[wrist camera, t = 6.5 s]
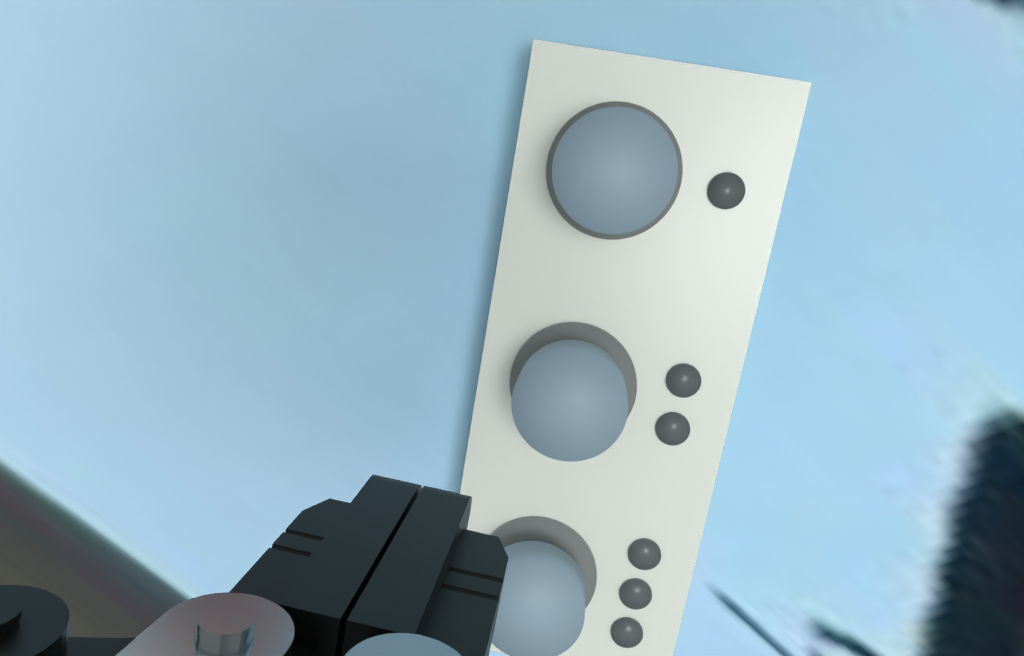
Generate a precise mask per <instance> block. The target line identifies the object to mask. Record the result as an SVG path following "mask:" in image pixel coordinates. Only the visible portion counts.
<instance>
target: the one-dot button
mask: <svg viewBox="0 0 1024 656" xmlns="http://www.w3.org/2000/svg"><path fill="white" fill-rule="evenodd" d="M677 176H678V161H677V155H676V151H675V148H674V145H673V143H672V141H671V139H670V137H669V135H668V134H667V132H666V131H665V130H664V128H663V127H662V126H661V125H660V124H659V123H658V122H657V121H656V120H654V119H653V118H651V117H650V116H648V115H647V114H645V113H643V112H641V111H638V110H635V109H632V108H627V107H607V108H601V109H598V110H595V111H592V112H590V113H588V114H586V115H584V116H583V117H581V118H580V119H578V120H577V121H576V122H575V123H573V124H572V125H571V126H570V128H569V129H568V130H567V131H566V132H565V134H564V135H563V136H562V138H561V140H560V142H559V143H558V145H557V148H556V151H555V154H554V158H553V163H552V181H553V187H554V190H555V194H556V196H557V198H558V201H559V203H560V204H561V206H562V208H563V209H564V210H565V211H566V213H567V214H568V215H569V216H570V217H571V218H572V219H573V220H574V221H576V222H577V223H578V224H580V225H581V226H583V227H585V228H587V229H589V230H592V231H594V232H598V233H603V234H623V233H628V232H632V231H635V230H637V229H640V228H642V227H644V226H645V225H647V224H649V223H650V222H651V221H653V220H654V219H655V218H656V217H657V216H658V215H659V214H660V213H661V212H662V211H663V210H664V208H665V207H666V206H667V204H668V203H669V201H670V199H671V197H672V195H673V192H674V190H675V186H676V183H677Z"/></svg>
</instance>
